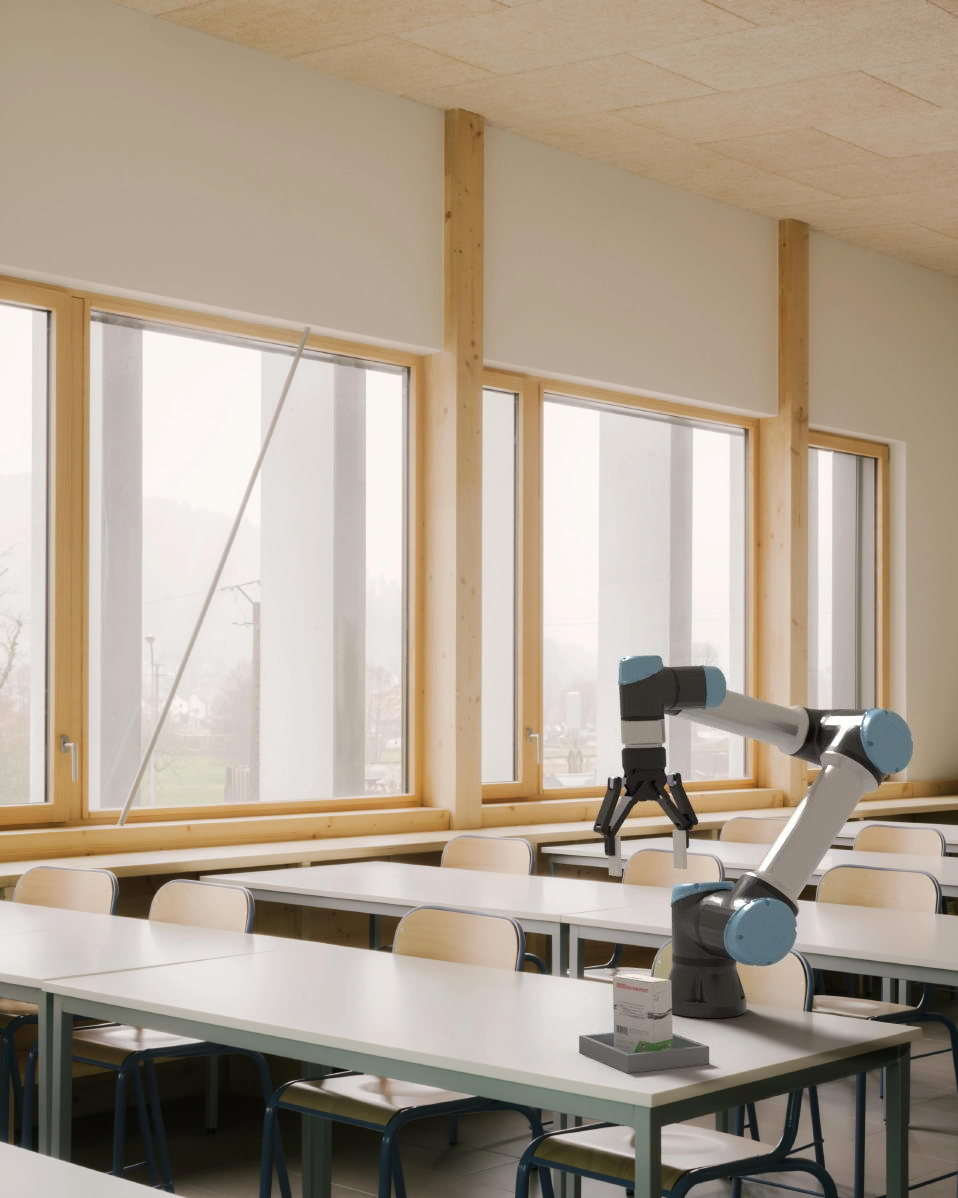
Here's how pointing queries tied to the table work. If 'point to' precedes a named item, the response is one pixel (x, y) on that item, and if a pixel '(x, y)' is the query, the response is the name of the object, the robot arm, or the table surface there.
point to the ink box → (642, 1013)
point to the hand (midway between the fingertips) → (648, 872)
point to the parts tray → (643, 1054)
